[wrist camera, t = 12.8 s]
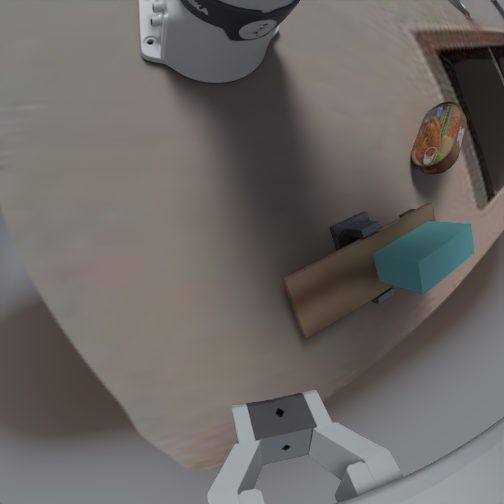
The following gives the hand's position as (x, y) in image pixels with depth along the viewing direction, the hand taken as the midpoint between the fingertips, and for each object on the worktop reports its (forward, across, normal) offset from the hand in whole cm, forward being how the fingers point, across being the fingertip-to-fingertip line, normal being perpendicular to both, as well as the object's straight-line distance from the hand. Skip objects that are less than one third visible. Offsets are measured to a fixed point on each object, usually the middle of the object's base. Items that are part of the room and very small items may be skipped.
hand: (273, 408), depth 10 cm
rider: (+26, -25, +8) cm, 37 cm away
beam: (+25, -20, +9) cm, 33 cm away
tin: (+36, -36, -7) cm, 52 cm away
